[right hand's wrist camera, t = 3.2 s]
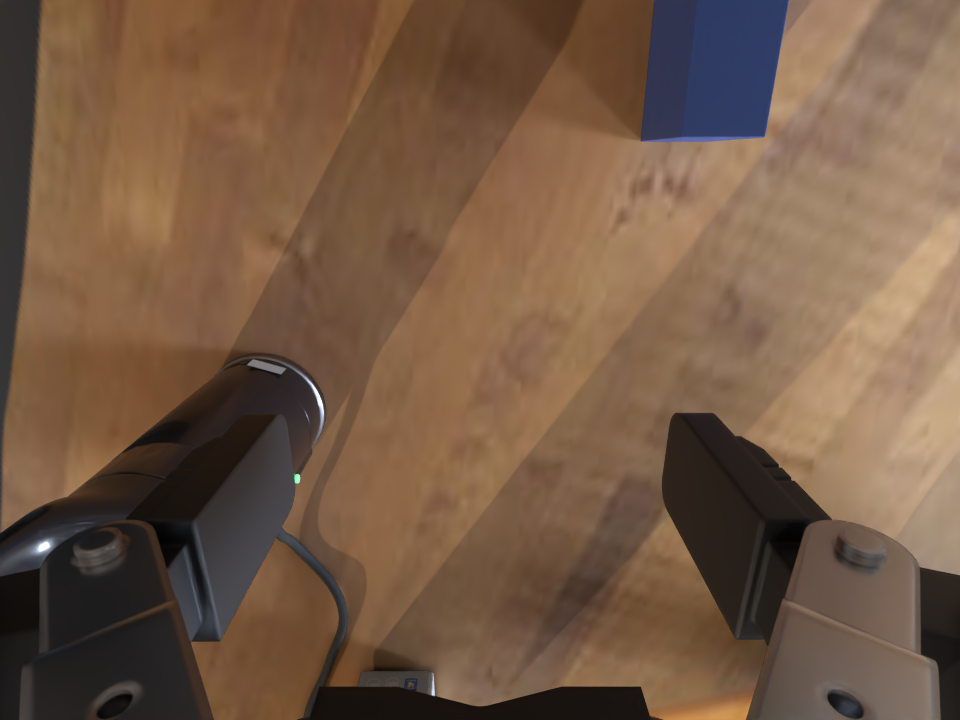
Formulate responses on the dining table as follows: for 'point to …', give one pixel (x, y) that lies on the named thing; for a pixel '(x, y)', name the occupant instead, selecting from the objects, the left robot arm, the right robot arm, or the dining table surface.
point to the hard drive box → (399, 680)
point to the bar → (711, 69)
